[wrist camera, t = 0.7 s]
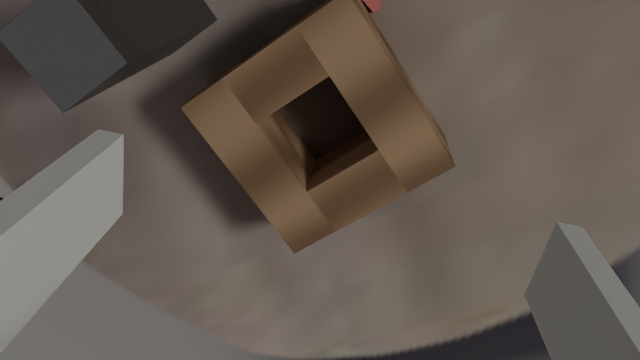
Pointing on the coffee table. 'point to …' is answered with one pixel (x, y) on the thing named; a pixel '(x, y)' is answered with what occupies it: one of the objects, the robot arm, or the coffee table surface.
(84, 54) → the dark grey bar
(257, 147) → the wooden square frame
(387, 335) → the coffee table surface
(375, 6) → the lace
